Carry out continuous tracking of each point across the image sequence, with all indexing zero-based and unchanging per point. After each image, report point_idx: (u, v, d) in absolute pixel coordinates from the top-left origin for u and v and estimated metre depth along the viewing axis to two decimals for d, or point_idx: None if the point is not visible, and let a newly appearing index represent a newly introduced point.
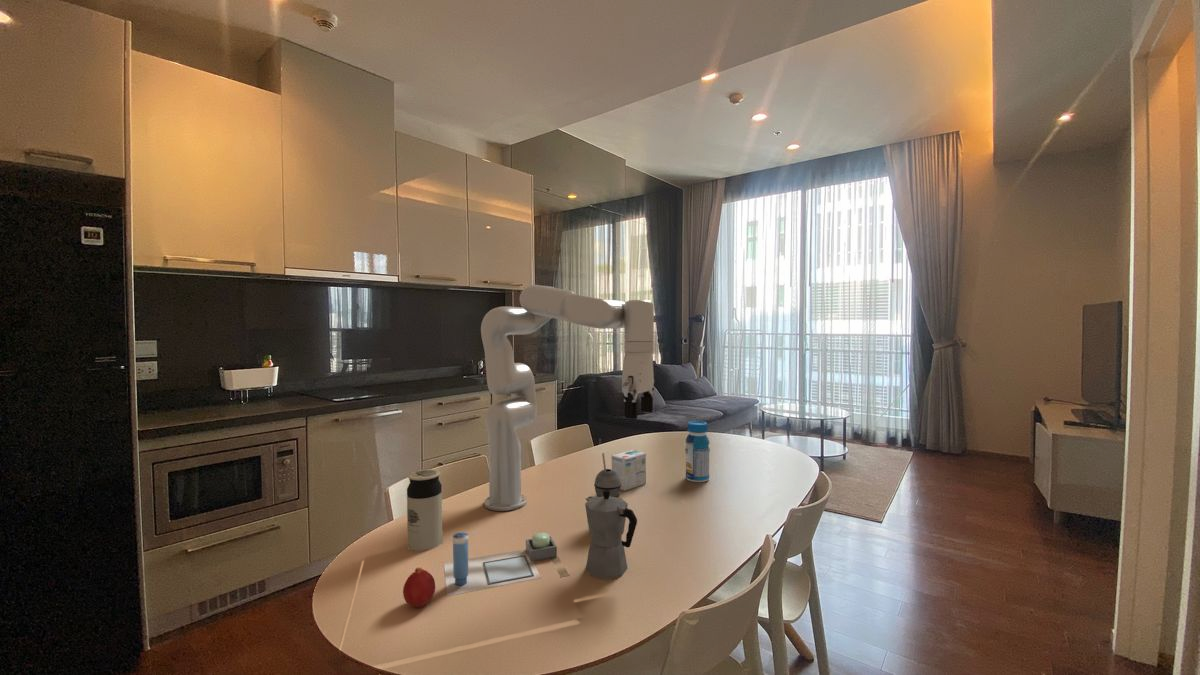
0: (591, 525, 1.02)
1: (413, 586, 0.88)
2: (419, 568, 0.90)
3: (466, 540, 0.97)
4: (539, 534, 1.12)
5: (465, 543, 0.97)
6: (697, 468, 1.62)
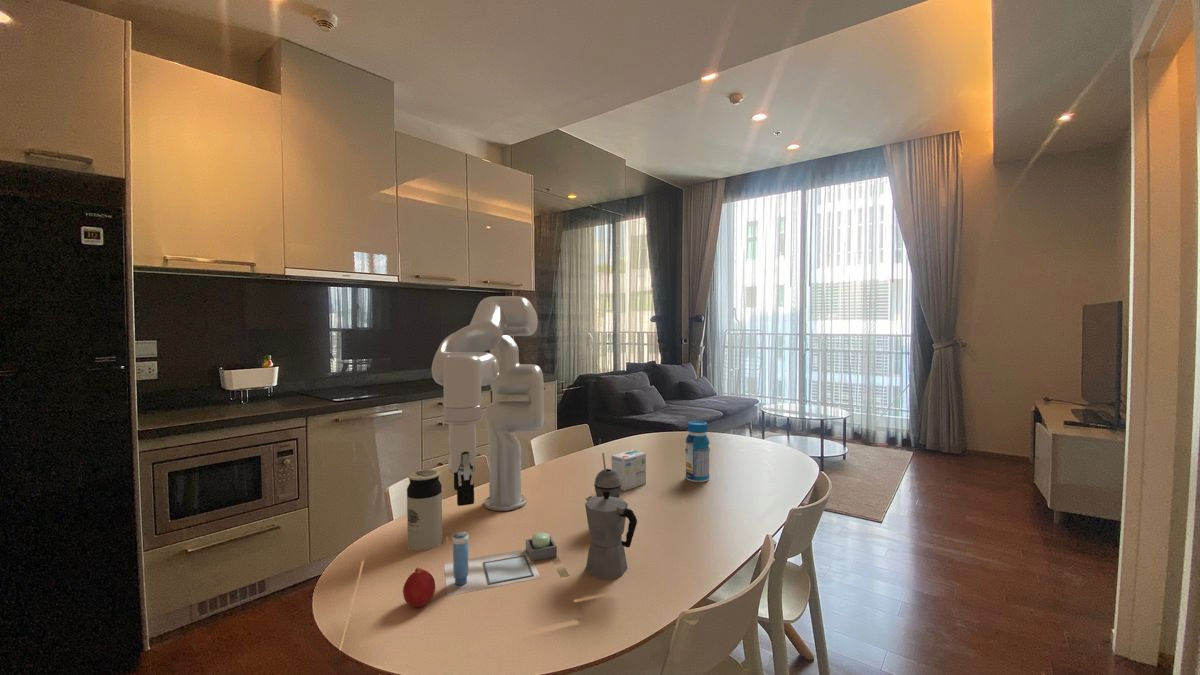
0: (591, 525, 1.02)
1: (413, 586, 0.88)
2: (419, 568, 0.90)
3: (466, 540, 0.97)
4: (539, 534, 1.12)
5: (465, 543, 0.97)
6: (697, 468, 1.62)
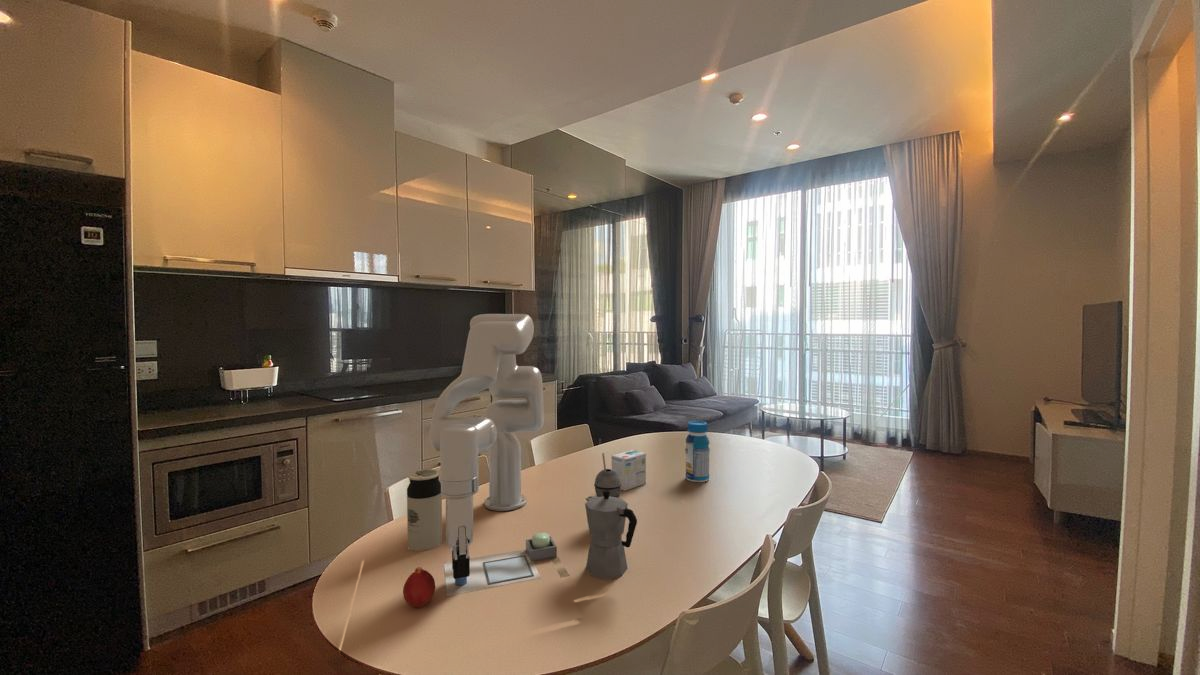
0: (591, 525, 1.02)
1: (413, 586, 0.88)
2: (419, 568, 0.90)
3: None
4: (539, 534, 1.12)
5: None
6: (697, 468, 1.62)
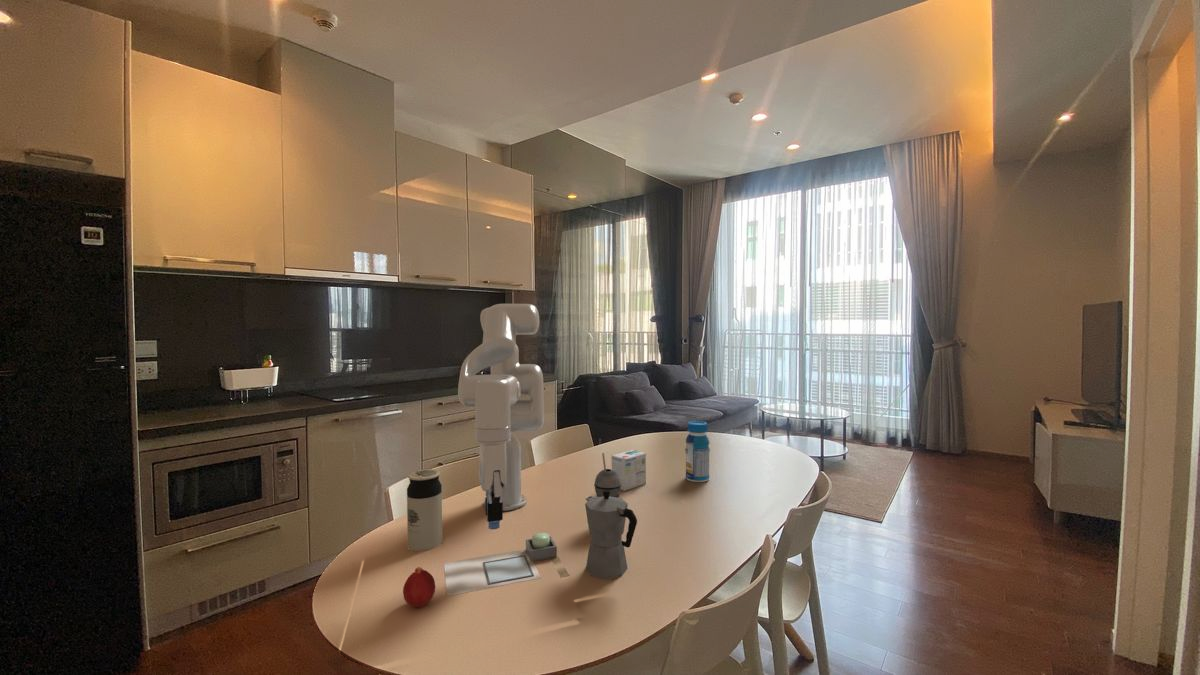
0: (591, 525, 1.02)
1: (413, 586, 0.88)
2: (419, 568, 0.90)
3: None
4: (539, 534, 1.12)
5: None
6: (697, 468, 1.62)
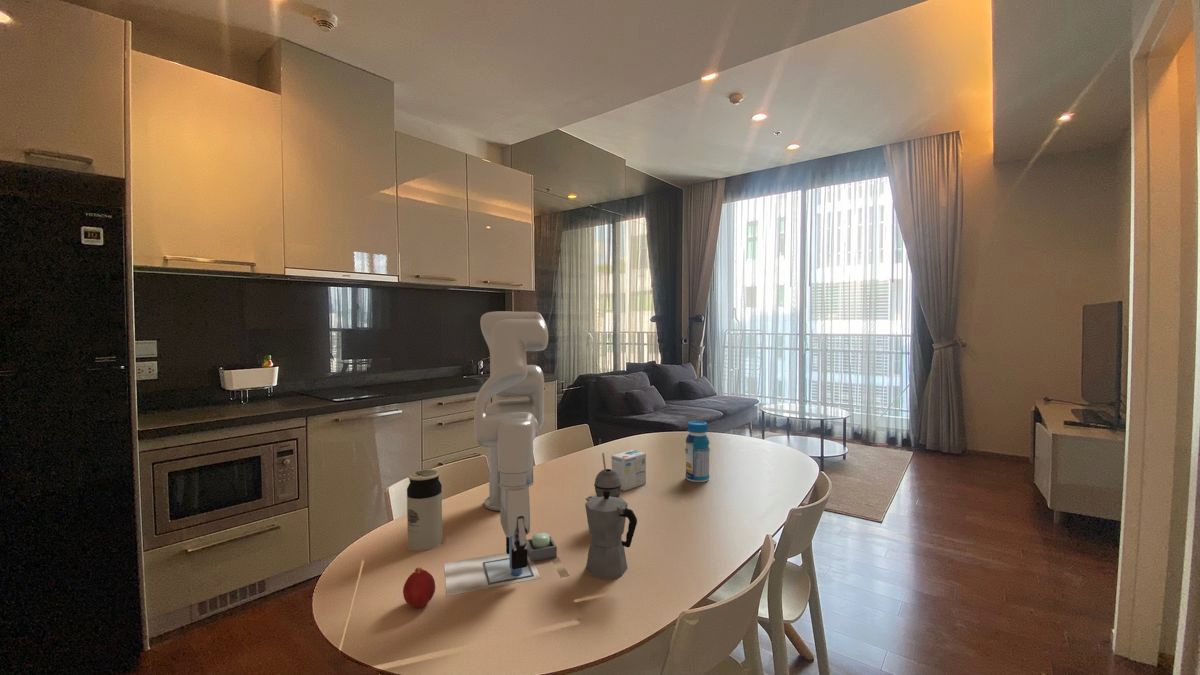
0: (591, 525, 1.02)
1: (413, 586, 0.88)
2: (419, 568, 0.90)
3: None
4: (539, 534, 1.12)
5: None
6: (697, 468, 1.62)
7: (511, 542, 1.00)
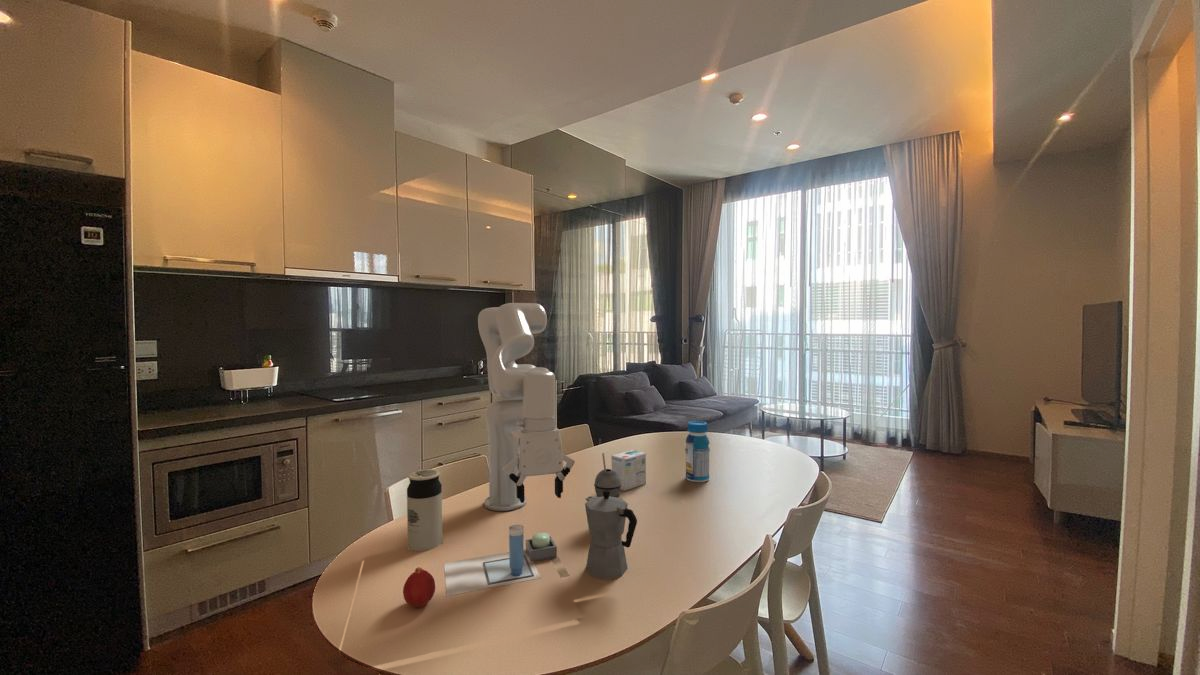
0: (591, 525, 1.02)
1: (413, 586, 0.88)
2: (419, 568, 0.90)
3: (522, 532, 1.01)
4: (539, 534, 1.12)
5: (521, 535, 1.01)
6: (697, 468, 1.62)
7: (511, 542, 1.00)
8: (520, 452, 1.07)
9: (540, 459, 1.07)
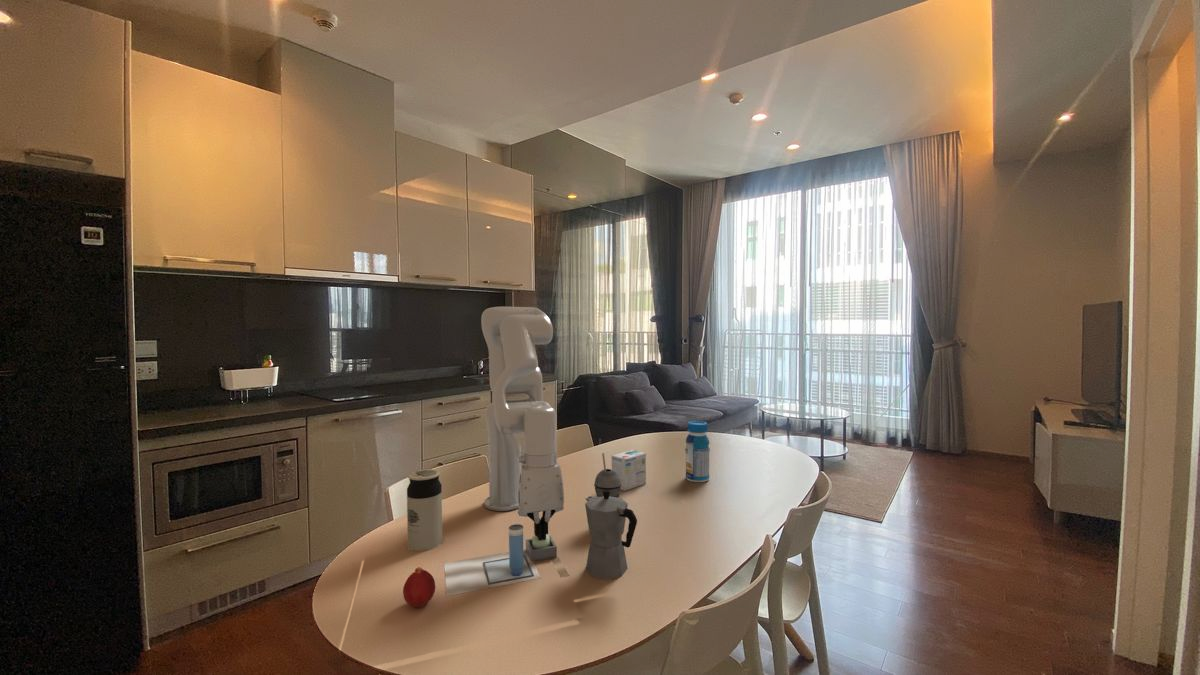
0: (591, 525, 1.02)
1: (413, 586, 0.88)
2: (419, 568, 0.90)
3: (522, 532, 1.01)
4: None
5: (521, 535, 1.01)
6: (697, 468, 1.62)
7: (511, 542, 1.00)
8: (521, 489, 1.07)
9: (541, 495, 1.08)
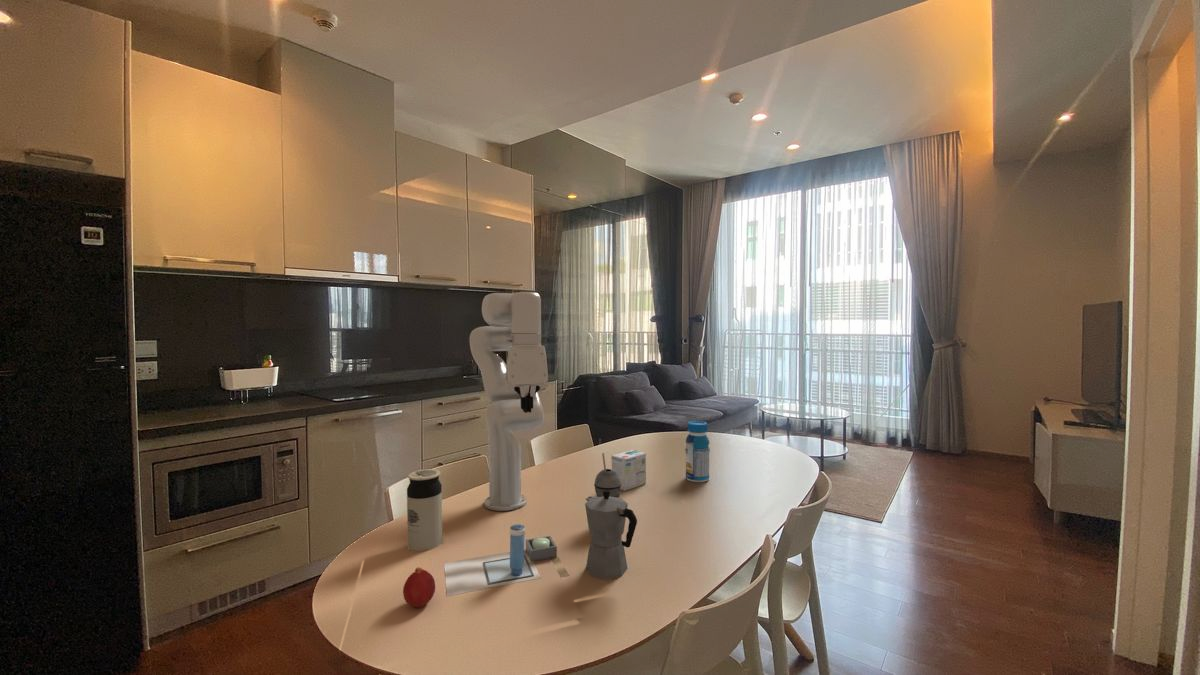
0: (591, 525, 1.02)
1: (413, 586, 0.88)
2: (419, 568, 0.90)
3: (523, 532, 1.01)
4: (539, 539, 1.12)
5: (522, 535, 1.01)
6: (697, 468, 1.62)
7: (512, 542, 1.00)
8: (508, 363, 1.18)
9: (527, 370, 1.19)
